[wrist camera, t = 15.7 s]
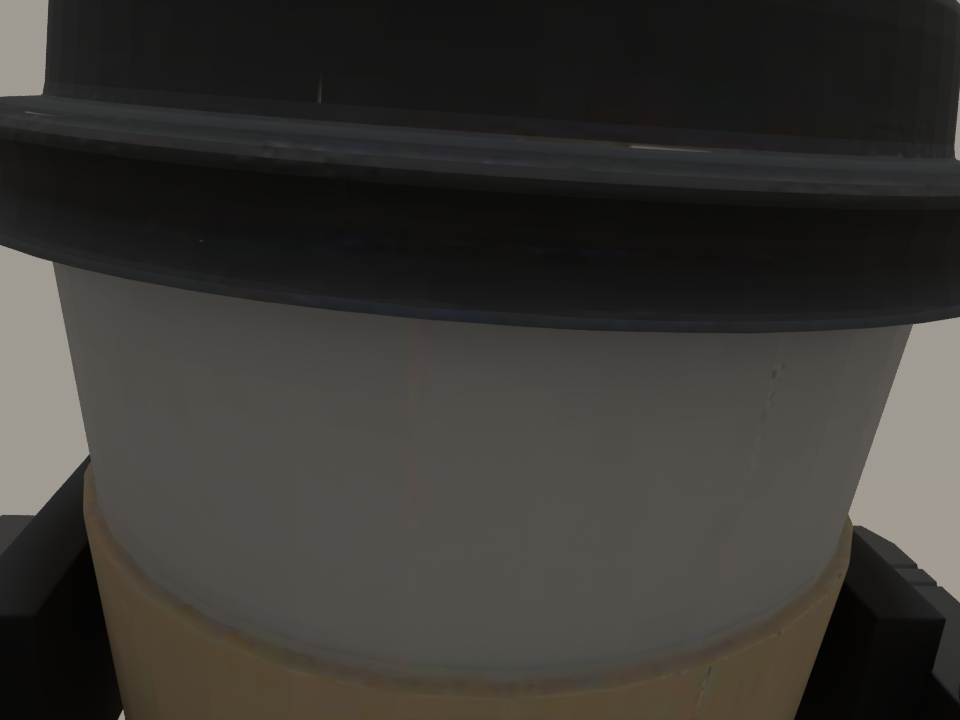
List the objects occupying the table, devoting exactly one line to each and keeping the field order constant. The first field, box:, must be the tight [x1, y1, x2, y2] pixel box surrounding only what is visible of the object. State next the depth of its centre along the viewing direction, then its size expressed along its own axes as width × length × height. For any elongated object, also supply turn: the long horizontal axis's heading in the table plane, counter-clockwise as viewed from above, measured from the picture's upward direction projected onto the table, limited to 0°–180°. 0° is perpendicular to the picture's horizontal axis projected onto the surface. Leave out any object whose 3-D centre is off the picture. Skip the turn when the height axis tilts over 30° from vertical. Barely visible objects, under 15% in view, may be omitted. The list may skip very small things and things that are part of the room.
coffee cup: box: [0, 0, 960, 720], centre depth 10 cm, size 9×9×15 cm
